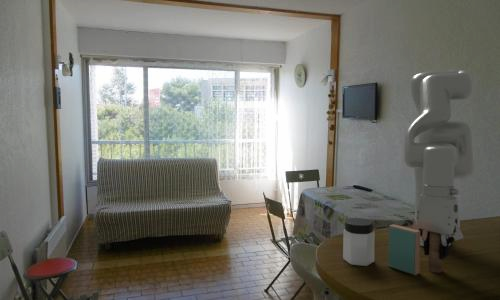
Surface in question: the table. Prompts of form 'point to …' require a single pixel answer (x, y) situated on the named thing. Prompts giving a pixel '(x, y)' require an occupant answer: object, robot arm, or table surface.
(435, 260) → the stick
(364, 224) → the jar
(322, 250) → the table surface
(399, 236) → the tile
